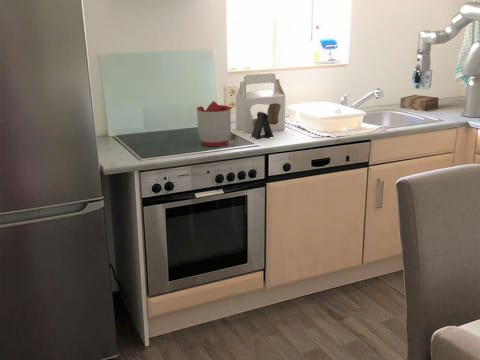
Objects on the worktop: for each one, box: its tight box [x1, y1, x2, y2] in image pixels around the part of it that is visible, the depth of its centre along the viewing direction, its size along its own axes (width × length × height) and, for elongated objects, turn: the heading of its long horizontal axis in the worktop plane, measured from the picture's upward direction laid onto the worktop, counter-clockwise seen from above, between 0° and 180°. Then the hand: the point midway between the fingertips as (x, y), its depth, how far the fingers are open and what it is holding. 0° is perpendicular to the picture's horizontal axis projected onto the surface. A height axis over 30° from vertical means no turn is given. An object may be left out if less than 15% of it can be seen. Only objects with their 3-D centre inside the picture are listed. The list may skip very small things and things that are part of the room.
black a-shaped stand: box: [251, 111, 274, 140], centre depth 267 cm, size 9×6×12 cm, turn 112°
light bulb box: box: [410, 69, 433, 90], centre depth 332 cm, size 11×7×11 cm, turn 66°
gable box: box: [235, 73, 286, 134], centre depth 282 cm, size 22×13×28 cm, turn 112°
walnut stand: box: [399, 94, 439, 112], centre depth 336 cm, size 16×16×6 cm
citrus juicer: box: [196, 100, 232, 147], centre depth 254 cm, size 16×17×20 cm
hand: (420, 81), depth 332 cm, fingers closed on light bulb box, 8 cm apart
